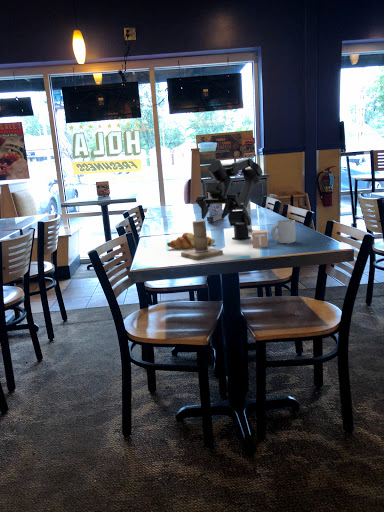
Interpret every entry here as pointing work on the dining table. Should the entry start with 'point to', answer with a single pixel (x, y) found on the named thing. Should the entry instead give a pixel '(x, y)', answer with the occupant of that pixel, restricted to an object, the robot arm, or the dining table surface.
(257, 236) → the marked block
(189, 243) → the croissant
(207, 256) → the walnut board
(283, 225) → the cup
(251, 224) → the travel mug
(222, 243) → the dining table surface
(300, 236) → the dining table surface
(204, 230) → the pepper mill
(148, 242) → the dining table surface
